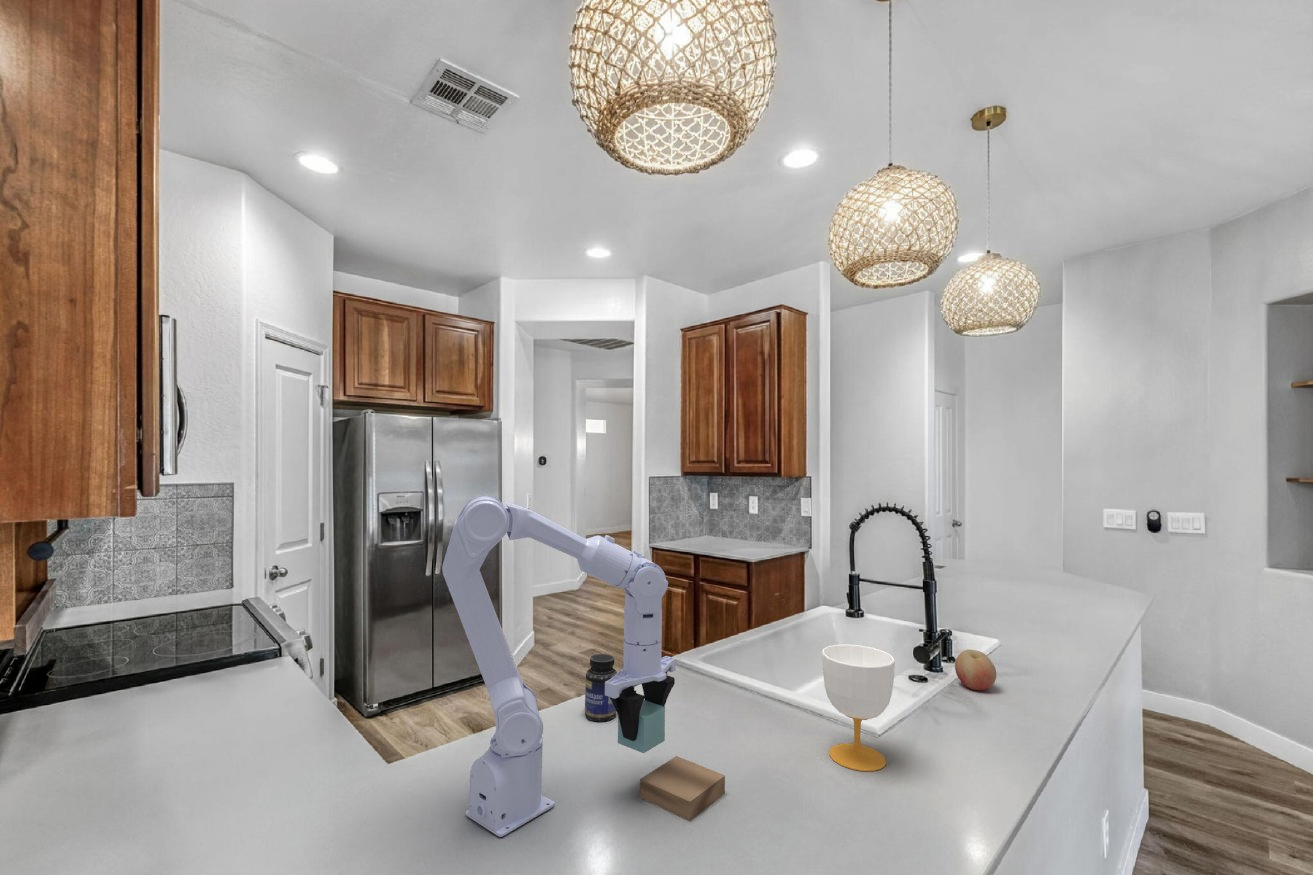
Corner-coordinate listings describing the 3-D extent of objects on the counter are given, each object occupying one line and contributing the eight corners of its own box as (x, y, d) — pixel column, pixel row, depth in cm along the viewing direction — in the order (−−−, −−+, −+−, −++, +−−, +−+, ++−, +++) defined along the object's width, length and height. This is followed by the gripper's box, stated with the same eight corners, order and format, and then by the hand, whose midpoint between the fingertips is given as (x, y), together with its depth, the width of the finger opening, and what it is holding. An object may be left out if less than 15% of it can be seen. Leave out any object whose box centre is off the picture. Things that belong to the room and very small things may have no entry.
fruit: (959, 692, 129) (959, 655, 129) (952, 679, 137) (952, 644, 137) (1000, 697, 127) (1000, 659, 127) (990, 683, 134) (990, 648, 135)
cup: (813, 764, 97) (814, 658, 97) (828, 735, 107) (829, 640, 108) (890, 783, 91) (890, 671, 92) (898, 751, 102) (898, 650, 102)
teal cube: (643, 753, 85) (644, 717, 85) (617, 742, 88) (618, 708, 88) (664, 740, 89) (664, 706, 89) (638, 730, 92) (639, 698, 92)
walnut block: (689, 824, 81) (690, 801, 81) (639, 799, 86) (639, 778, 86) (724, 795, 88) (725, 775, 88) (676, 775, 93) (676, 755, 93)
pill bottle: (578, 717, 112) (579, 659, 113) (596, 706, 118) (597, 650, 118) (605, 725, 110) (606, 664, 110) (622, 713, 115) (623, 655, 116)
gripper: (631, 657, 81) (630, 758, 80) (691, 633, 92) (691, 722, 92) (594, 647, 85) (593, 743, 85) (656, 625, 97) (655, 710, 96)
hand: (641, 731), depth 89 cm, fingers closed on teal cube, 5 cm apart
